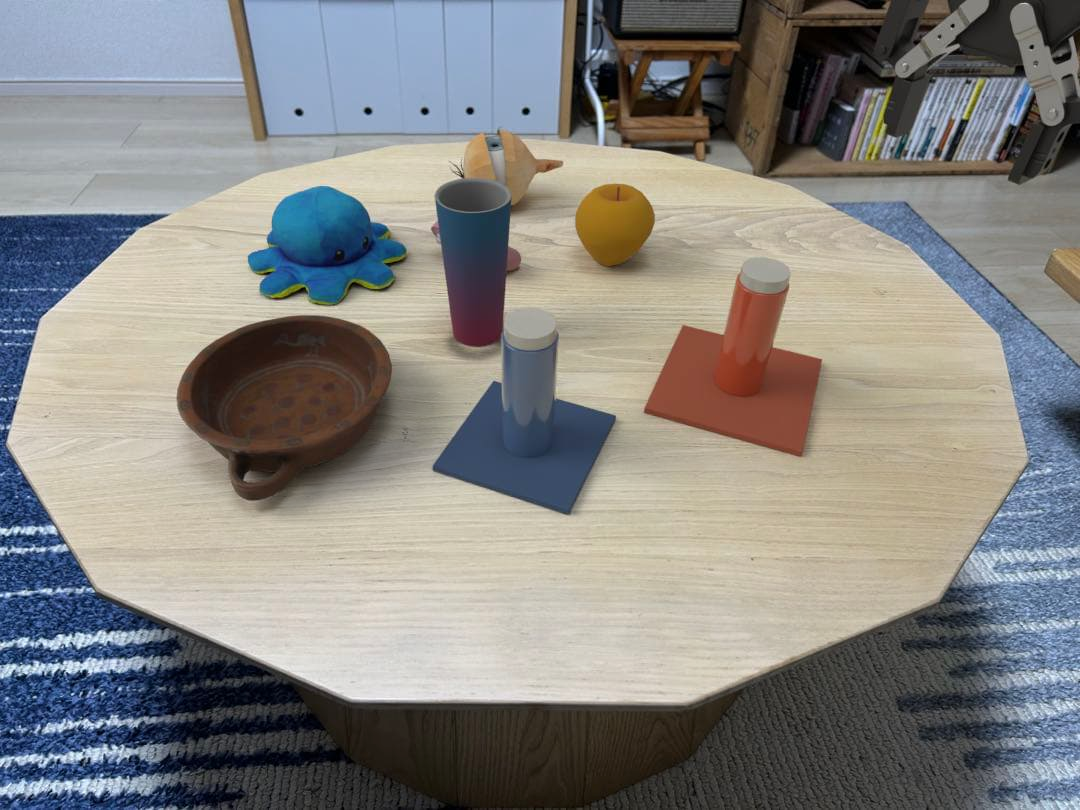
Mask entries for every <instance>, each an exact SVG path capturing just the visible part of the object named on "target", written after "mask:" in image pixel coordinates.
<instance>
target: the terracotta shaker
mask: <svg viewBox="0 0 1080 810" xmlns="http://www.w3.org/2000/svg"><path fill="white" fill-rule="evenodd" d="M791 274H792V273H791V270H790V267H788V265H787V264H785V263H784V262H782V261H781V260H778V259H775V258H771V257H768V256H767V257H765V256H754V257H750V258H748V259H745V260H744V261H743V263H742V264H741V268H740V272H739V273H738V274H737V276H736V279H735V283H734V288H733V292H732V297H731V301H730V304H729V310H728V313H727V317H726V321H725V322H726V323H725V327H724V332H723V334H722V335H723V340H722V344H721V349H720V353H719V357H718V362H717V366H716V370H715V375H714V381H715V383H716V385H717V386H718V387H719V388H720V389H721V390H723V391H724V392H726V393H728V394H731V395H735V396H750V395H753V394H755V393H757V392H758V391H759V390H760V388H761V386H762V382H763V379H764V375H765V372H766V368H767V365H768V361H769V358H770V354H771V351H772V347H774V343H775V339H776V337H777V333H778V329H779V325H780V322H781V319H782V315H783V312H784V308H785V305H786V302H787V301H786V300H787V297H788V295H789V294H788V293H789V291H790V282H789V281H790V277H791Z"/></svg>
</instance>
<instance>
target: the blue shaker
mask: <svg viewBox="0 0 1080 810" xmlns="http://www.w3.org/2000/svg"><path fill="white" fill-rule="evenodd" d="M559 344H560V334H559V331H558V321H557V319H556V317H555V316H554V315H553V314H552V313H551V312H549V311H548V310H545V309H542V308H538V307H521V308H517V309H515V310H513V311H511V312H509V313H508V314H507V315H506V316H505V318H504V319H503V331H502V334H501V337H500V347H501V349H500V351H501V352H500V354H501V355H500V356H501V357H500V359H501V360H500V361H501V362H500V363H501V367H500V368H501V383H502V442H503V445H504V447H505V448H506V449H507V450H508V451H509V452H510V453H512V454H514V455H516V456H520V457H527V458H530V457H537V456H540V455H543V454H544V453H546V452H547V451H549V449H550V448H551V447H552V445H553V442H554V424H555V405H556V399H557V385H558V384H557V383H558V366H559V365H558V364H559V363H558V362H559V346H560V345H559Z"/></svg>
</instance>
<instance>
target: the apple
mask: <svg viewBox="0 0 1080 810" xmlns="http://www.w3.org/2000/svg"><path fill="white" fill-rule="evenodd" d="M654 211H655V210H654V208H653V205H652V203H651V202H650V201H649V199H648V198H647V196H646V195H645V194H644V193H643V192H642V191H641V190H639V189H638V188H636V187H634V186H632V185H629V184H626V183H605V184H602V185H599V186H597V187H594V188H593V189H592V190H590V191H589V192H588V194H586V195H585V196H584V197H583V198H582V199H581V200H580V202H579V205H578V207H577V209H576V212H575V216H574V223H575V224H574V225H575V226H574V227H575V230H576V234H577V236H578V239H579V241H580V242H581V244H582V245H583V247H584V249H585V250H586V252H587V253H588V254H589V255H590V257H591V258H592V260H594V261H595V262H597V263H598V264H599V265H602V266H604V267H613V266H618V265H621V264H623V263H625V262H626V261H628V260H629V259H630V258H631V257H632V256H633V255H635V254H636V253H637V252H639V251H640V250H641V249H642V247H643V246H644V245H645V243H646V242H647V240H648V239H649V237H650V236H651V234H652V232H653V229H654V226H655V223H656V214H655V212H654Z"/></svg>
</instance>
